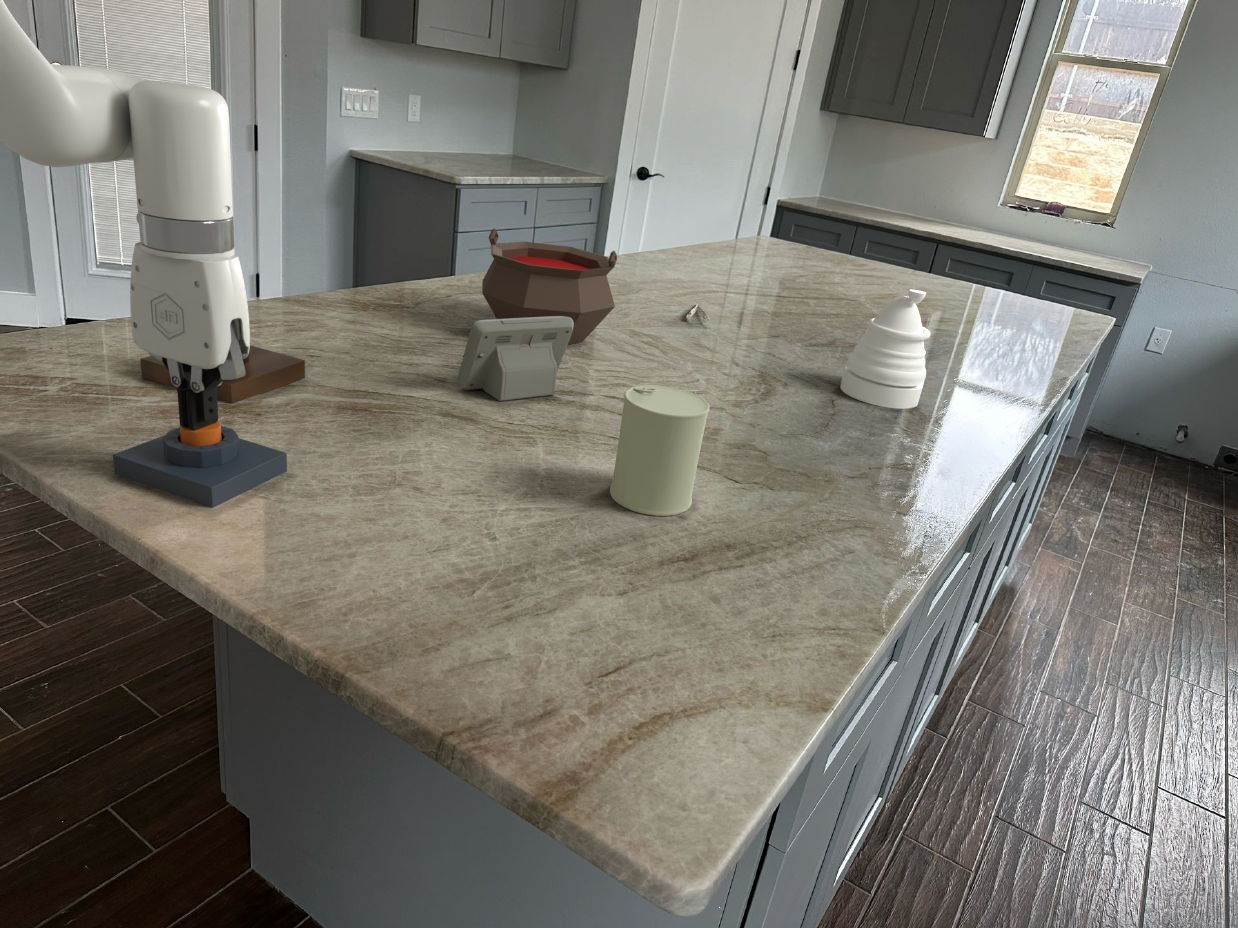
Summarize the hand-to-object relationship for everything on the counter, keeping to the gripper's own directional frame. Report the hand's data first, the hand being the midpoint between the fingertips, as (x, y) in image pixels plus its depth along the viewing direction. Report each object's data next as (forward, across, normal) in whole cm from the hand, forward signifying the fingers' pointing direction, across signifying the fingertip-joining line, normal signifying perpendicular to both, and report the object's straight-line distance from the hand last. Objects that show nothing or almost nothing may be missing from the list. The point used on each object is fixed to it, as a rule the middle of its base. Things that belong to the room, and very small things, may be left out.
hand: (199, 424), depth 83 cm
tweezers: (+5, +20, +112) cm, 114 cm away
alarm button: (+2, 0, 0) cm, 2 cm away
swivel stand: (+5, -18, +22) cm, 29 cm away
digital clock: (+5, +12, +44) cm, 46 cm away
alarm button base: (+5, 0, 0) cm, 5 cm away
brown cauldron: (+5, +3, +73) cm, 73 cm away
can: (+5, +40, +23) cm, 47 cm away
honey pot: (+5, +60, +84) cm, 103 cm away
